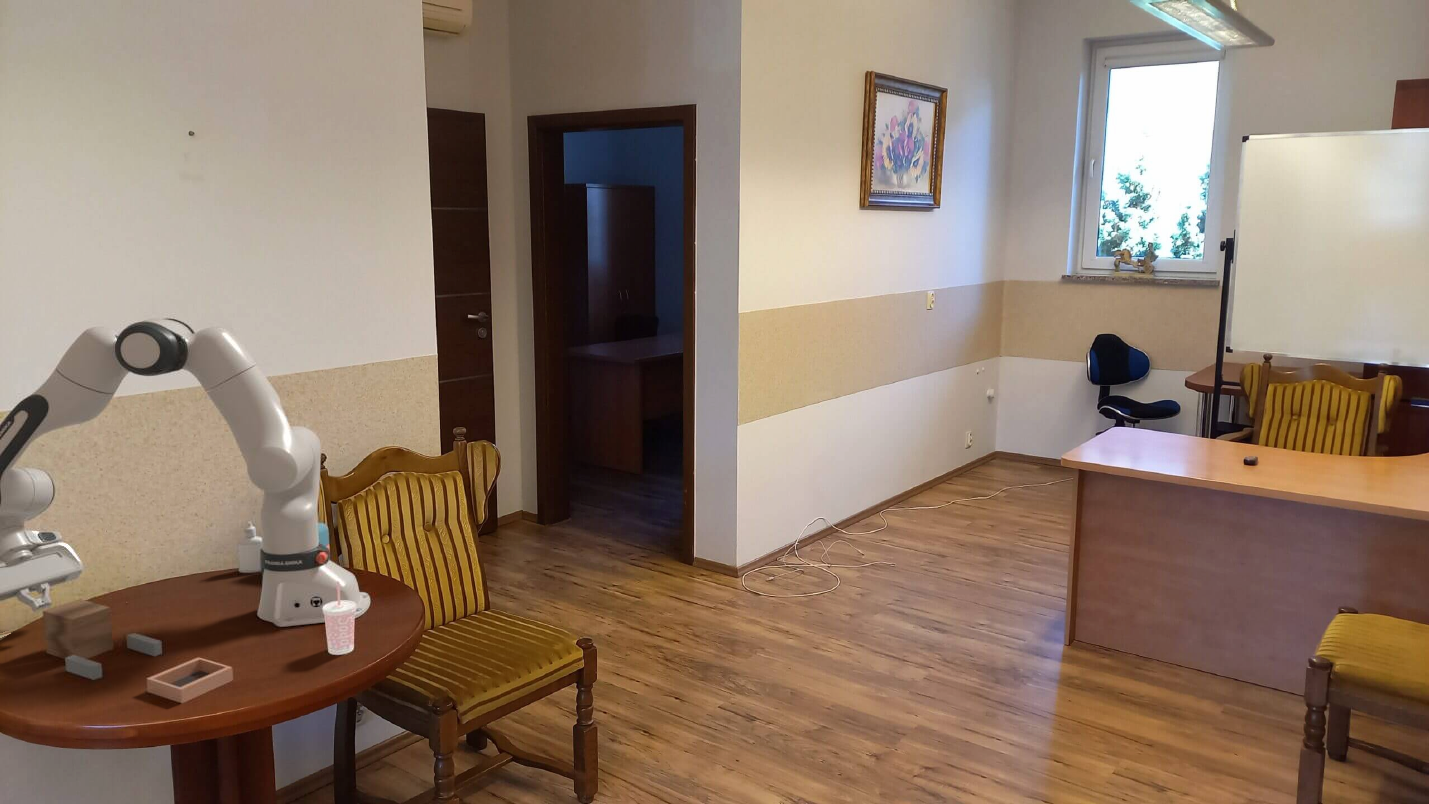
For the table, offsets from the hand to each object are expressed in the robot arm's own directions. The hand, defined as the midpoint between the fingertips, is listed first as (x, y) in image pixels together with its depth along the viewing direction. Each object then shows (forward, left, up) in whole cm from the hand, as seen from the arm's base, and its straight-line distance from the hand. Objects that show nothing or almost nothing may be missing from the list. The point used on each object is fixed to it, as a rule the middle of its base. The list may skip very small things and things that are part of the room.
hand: (43, 607), depth 189 cm
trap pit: (-35, +24, -7) cm, 43 cm away
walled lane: (-17, +12, -7) cm, 22 cm away
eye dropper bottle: (-27, -38, -7) cm, 47 cm away
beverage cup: (-57, +11, -7) cm, 59 cm away
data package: (-39, -36, -7) cm, 54 cm away
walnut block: (-9, +6, -7) cm, 13 cm away
